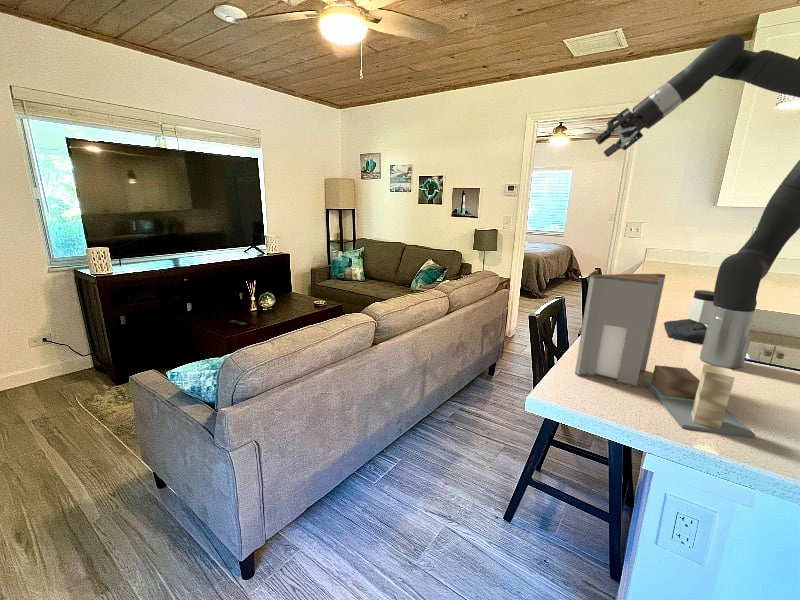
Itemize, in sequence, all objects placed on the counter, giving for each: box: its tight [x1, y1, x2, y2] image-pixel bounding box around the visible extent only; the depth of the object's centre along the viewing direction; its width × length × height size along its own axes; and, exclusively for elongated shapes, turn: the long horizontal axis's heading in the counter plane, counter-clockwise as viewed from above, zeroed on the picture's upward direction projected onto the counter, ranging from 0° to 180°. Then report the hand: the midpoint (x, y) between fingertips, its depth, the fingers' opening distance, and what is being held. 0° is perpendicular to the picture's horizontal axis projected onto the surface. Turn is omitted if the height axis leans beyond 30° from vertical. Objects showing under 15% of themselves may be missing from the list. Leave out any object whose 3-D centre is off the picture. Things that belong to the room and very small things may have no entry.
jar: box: [687, 289, 714, 325], centre depth 150 cm, size 9×8×12 cm
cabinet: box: [574, 273, 666, 389], centre depth 97 cm, size 21×10×28 cm, turn 100°
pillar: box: [692, 363, 736, 429], centre depth 79 cm, size 4×4×12 cm
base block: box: [650, 364, 700, 400], centre depth 92 cm, size 7×7×5 cm
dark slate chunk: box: [663, 318, 707, 345], centre depth 136 cm, size 15×22×5 cm
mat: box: [645, 380, 756, 439], centre depth 87 cm, size 13×20×1 cm, turn 167°
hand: (601, 148), depth 113 cm, fingers open, 8 cm apart
